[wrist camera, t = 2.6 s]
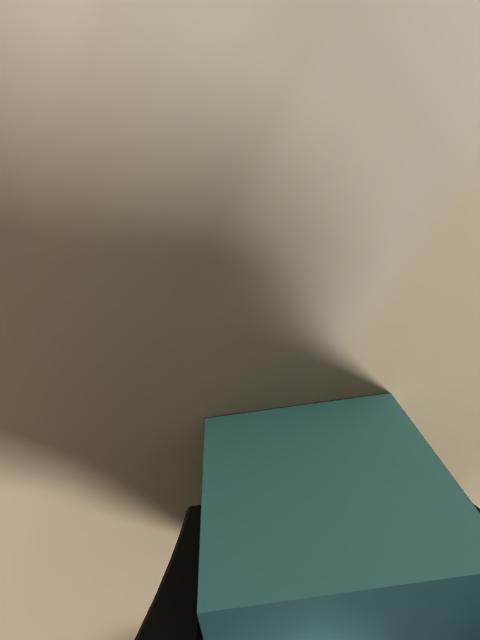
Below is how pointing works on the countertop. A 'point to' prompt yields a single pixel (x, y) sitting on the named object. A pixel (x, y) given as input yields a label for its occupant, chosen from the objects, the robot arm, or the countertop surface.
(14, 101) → the countertop surface
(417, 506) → the teal block
